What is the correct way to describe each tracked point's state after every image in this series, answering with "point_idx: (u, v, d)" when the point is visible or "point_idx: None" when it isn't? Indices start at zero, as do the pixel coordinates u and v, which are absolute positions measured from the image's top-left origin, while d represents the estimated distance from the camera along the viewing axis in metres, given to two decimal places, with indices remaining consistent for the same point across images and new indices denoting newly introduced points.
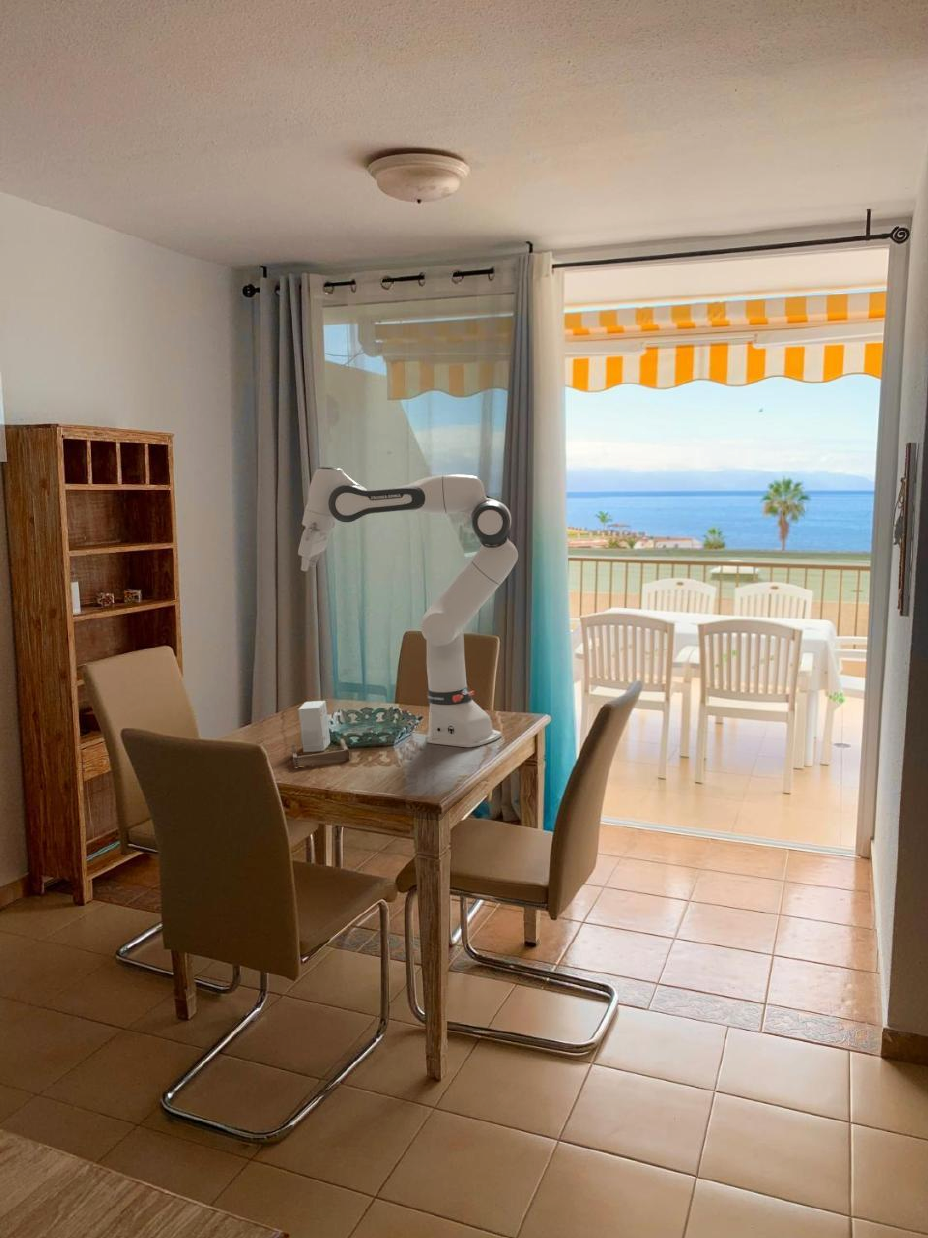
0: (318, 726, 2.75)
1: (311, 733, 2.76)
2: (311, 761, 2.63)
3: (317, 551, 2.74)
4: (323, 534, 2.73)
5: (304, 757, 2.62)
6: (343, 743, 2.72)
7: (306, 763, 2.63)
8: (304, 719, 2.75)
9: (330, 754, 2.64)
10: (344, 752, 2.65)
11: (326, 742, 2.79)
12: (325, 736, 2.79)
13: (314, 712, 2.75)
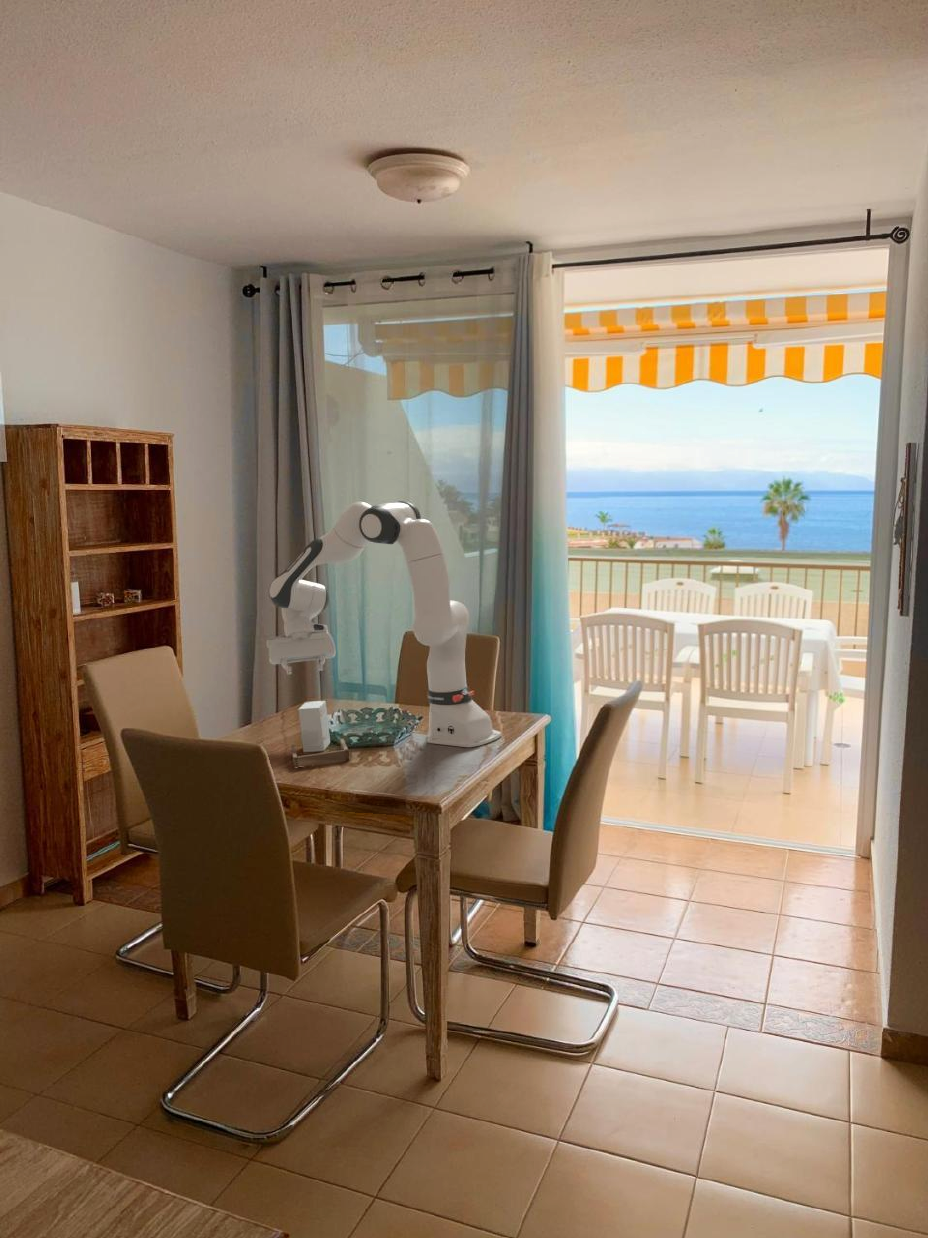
0: (318, 726, 2.75)
1: (311, 733, 2.76)
2: (311, 761, 2.63)
3: (299, 652, 2.91)
4: (294, 637, 2.94)
5: (304, 757, 2.62)
6: (343, 743, 2.72)
7: (306, 763, 2.63)
8: (304, 719, 2.75)
9: (330, 754, 2.64)
10: (344, 752, 2.65)
11: (326, 742, 2.79)
12: (325, 736, 2.79)
13: (314, 712, 2.75)
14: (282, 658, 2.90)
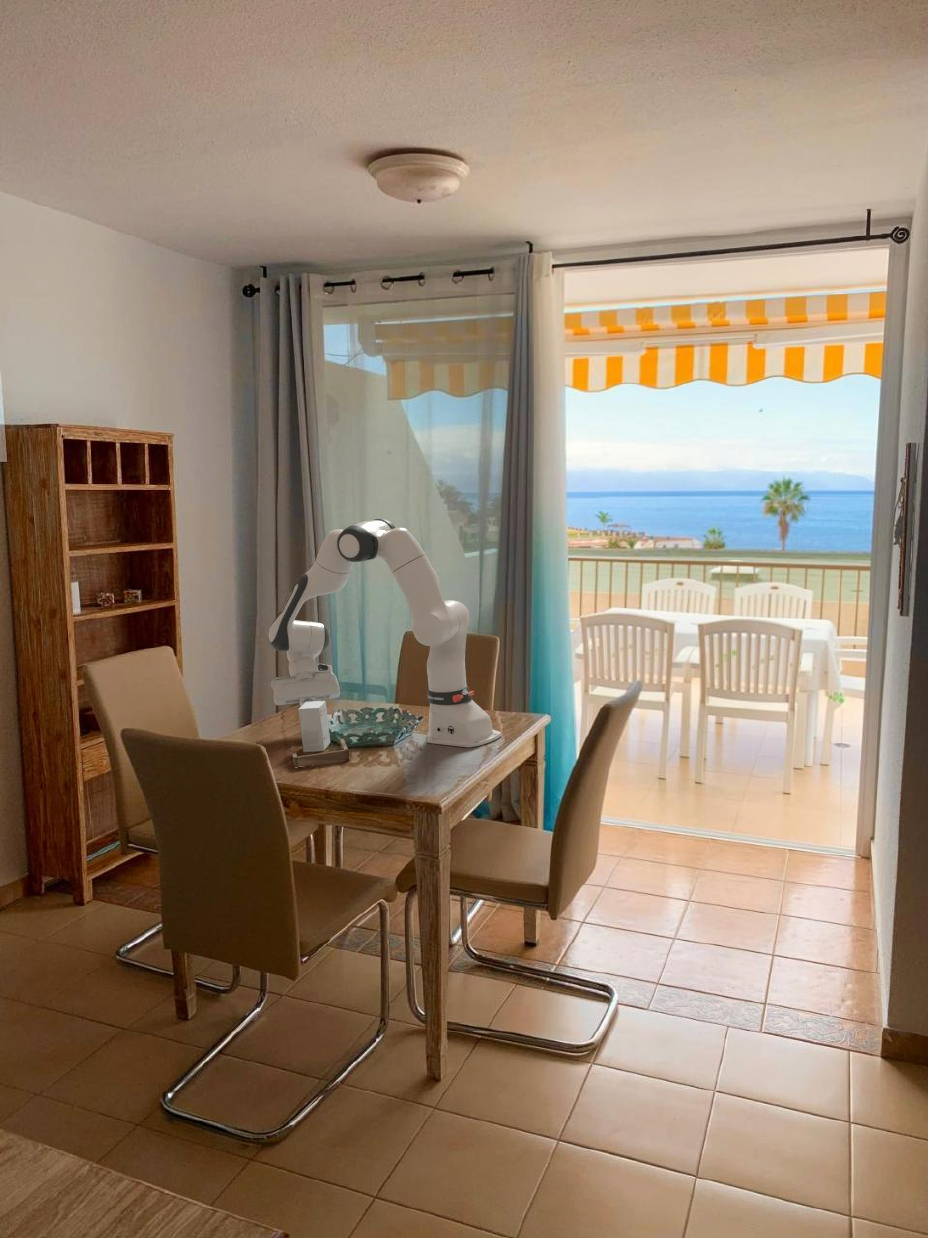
0: (318, 726, 2.75)
1: (311, 733, 2.76)
2: (311, 761, 2.63)
3: (303, 693, 2.94)
4: (299, 678, 2.96)
5: (304, 757, 2.62)
6: (343, 743, 2.72)
7: (306, 763, 2.63)
8: (304, 719, 2.75)
9: (330, 754, 2.64)
10: (344, 752, 2.65)
11: (326, 742, 2.79)
12: (325, 736, 2.79)
13: (314, 712, 2.75)
14: (287, 699, 2.93)
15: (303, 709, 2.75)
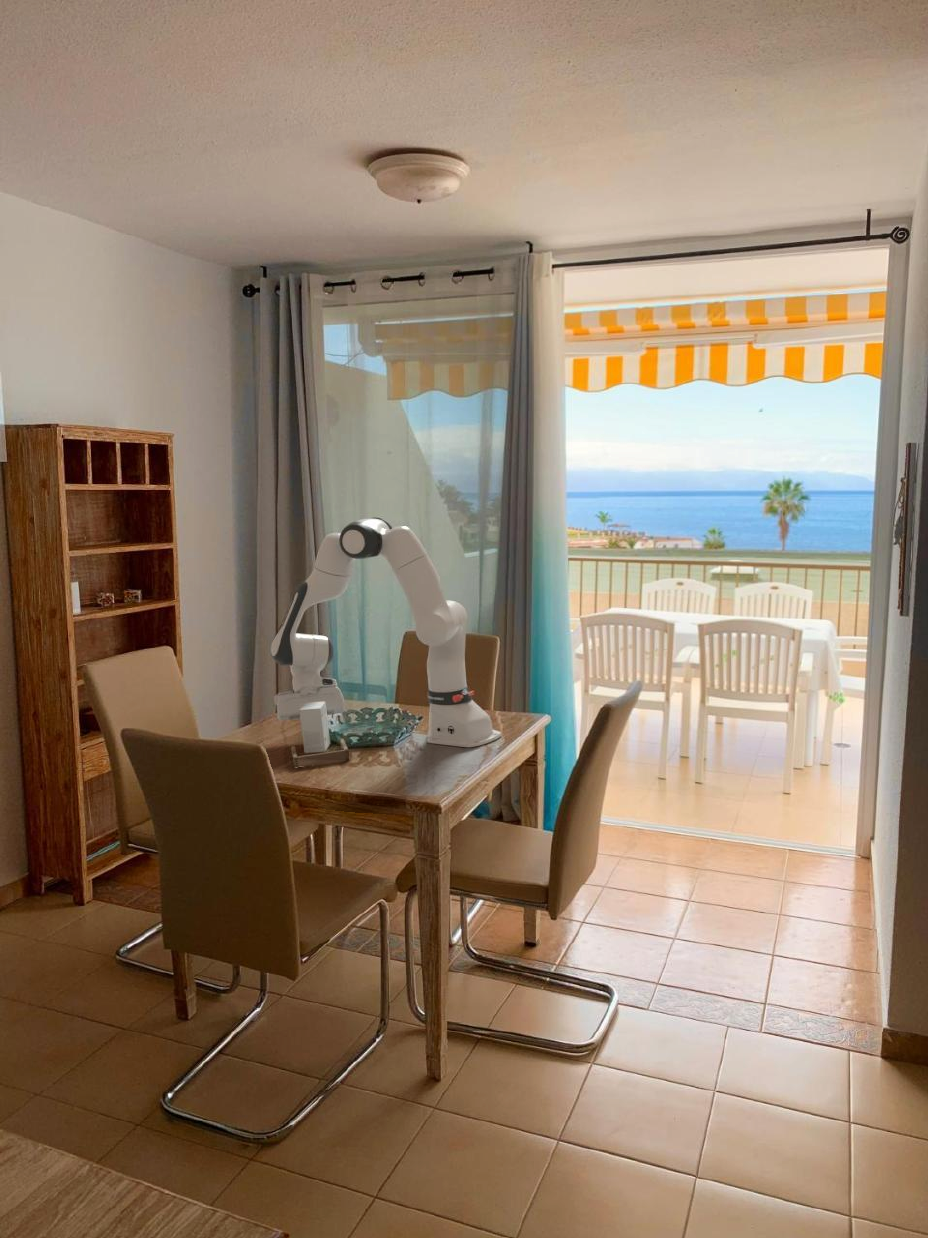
0: (319, 727, 2.74)
1: (313, 734, 2.75)
2: (311, 761, 2.63)
3: None
4: (303, 693, 2.88)
5: (304, 757, 2.62)
6: (343, 743, 2.72)
7: (306, 763, 2.63)
8: (305, 720, 2.74)
9: (330, 754, 2.64)
10: (344, 752, 2.65)
11: (327, 743, 2.78)
12: (326, 737, 2.78)
13: (315, 713, 2.74)
14: (290, 715, 2.84)
15: (304, 710, 2.74)
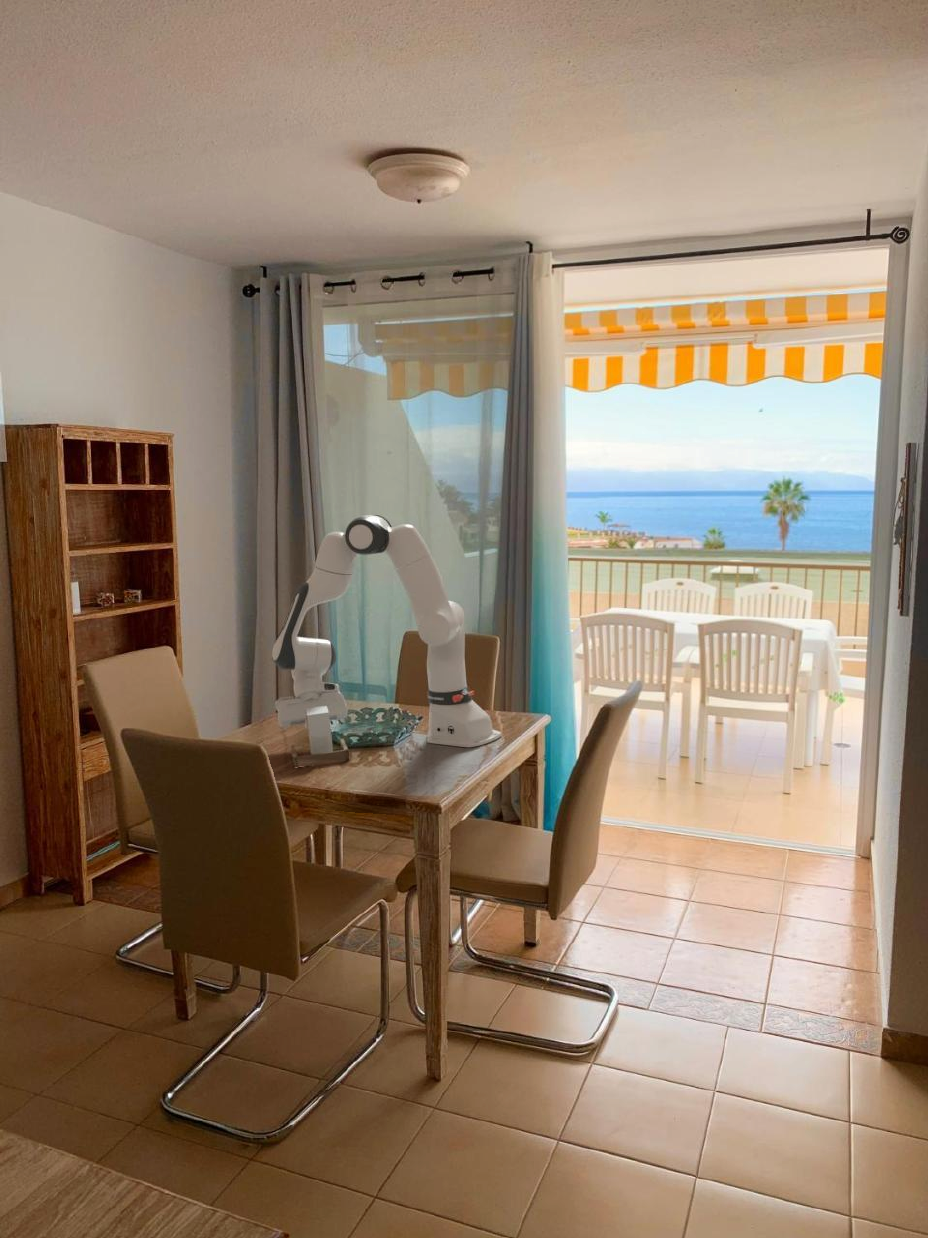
0: (328, 732, 2.69)
1: (321, 739, 2.69)
2: (311, 761, 2.63)
3: None
4: (304, 698, 2.81)
5: (304, 757, 2.62)
6: (343, 743, 2.72)
7: (306, 763, 2.63)
8: (313, 726, 2.68)
9: (330, 754, 2.64)
10: (344, 752, 2.65)
11: None
12: None
13: (323, 718, 2.68)
14: (292, 721, 2.77)
15: (312, 715, 2.67)
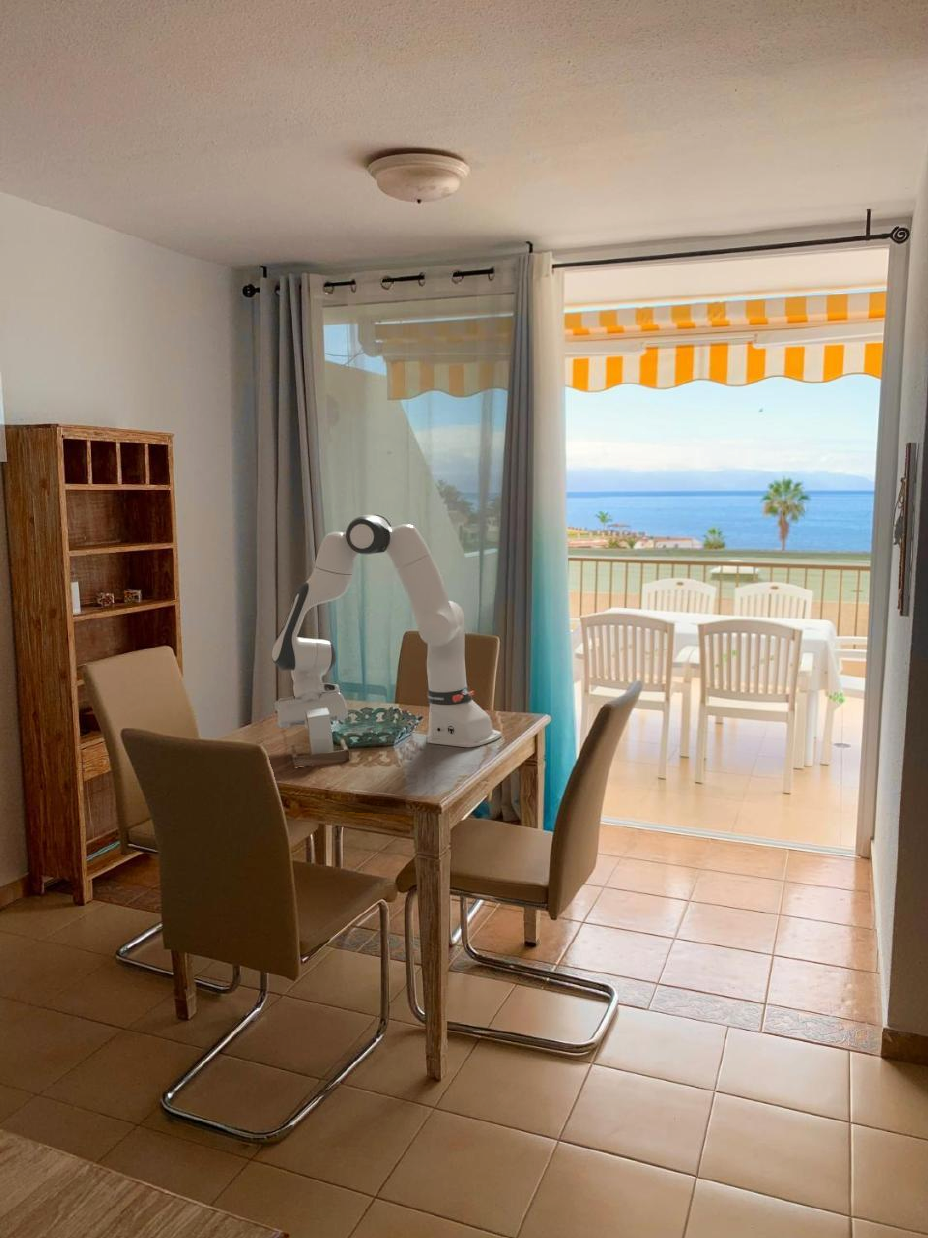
0: (329, 734, 2.67)
1: (322, 741, 2.67)
2: (311, 761, 2.63)
3: None
4: (304, 699, 2.79)
5: (304, 757, 2.62)
6: (343, 743, 2.72)
7: (306, 763, 2.63)
8: (314, 728, 2.66)
9: (330, 754, 2.64)
10: (344, 752, 2.65)
11: None
12: None
13: (324, 719, 2.66)
14: (292, 721, 2.76)
15: (312, 717, 2.65)
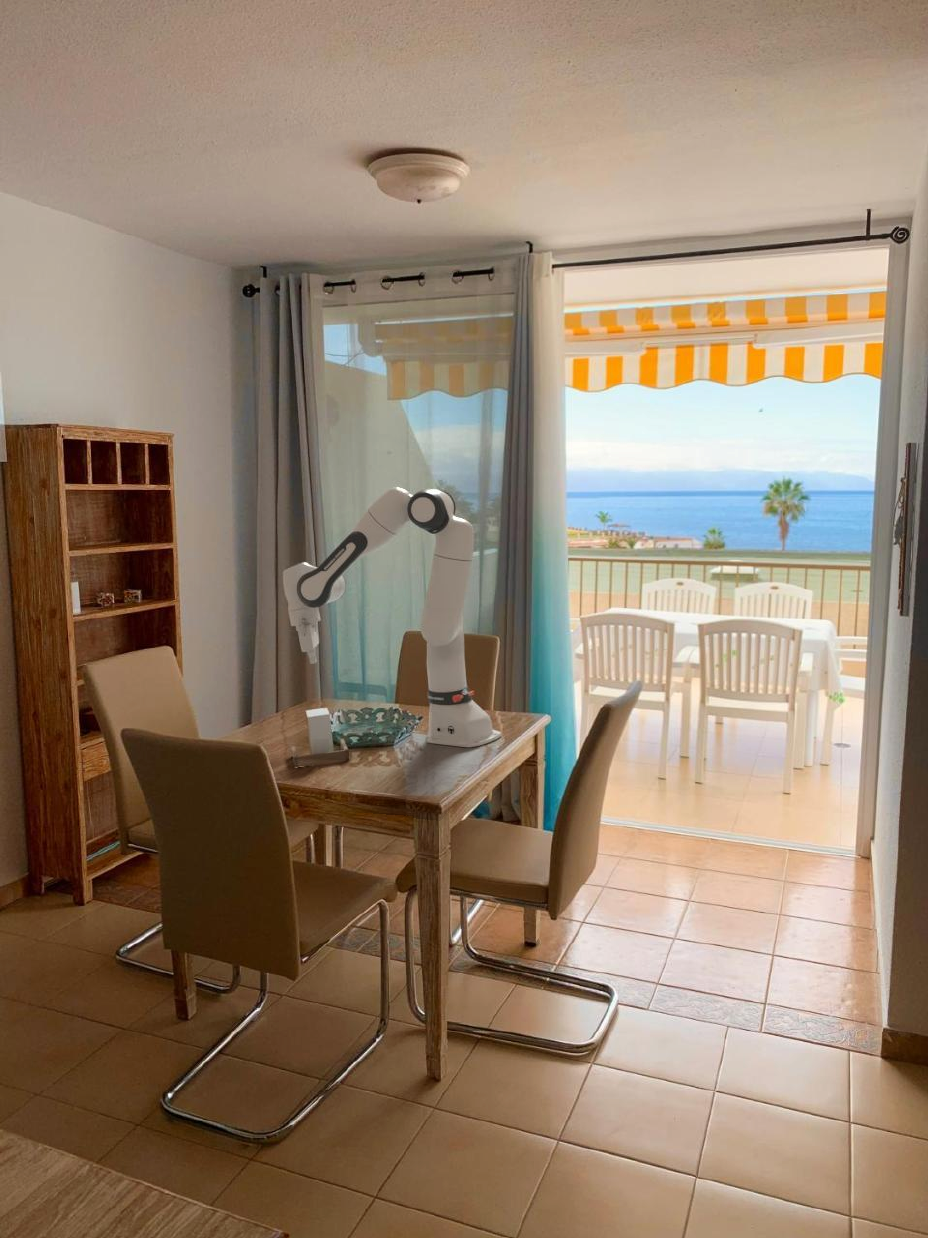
0: (329, 734, 2.67)
1: (322, 741, 2.67)
2: (311, 761, 2.63)
3: (315, 643, 2.85)
4: (314, 626, 2.84)
5: (304, 757, 2.62)
6: (343, 743, 2.72)
7: (306, 763, 2.63)
8: (314, 728, 2.66)
9: (330, 754, 2.64)
10: (344, 752, 2.65)
11: None
12: None
13: (324, 719, 2.66)
14: None
15: (312, 717, 2.65)
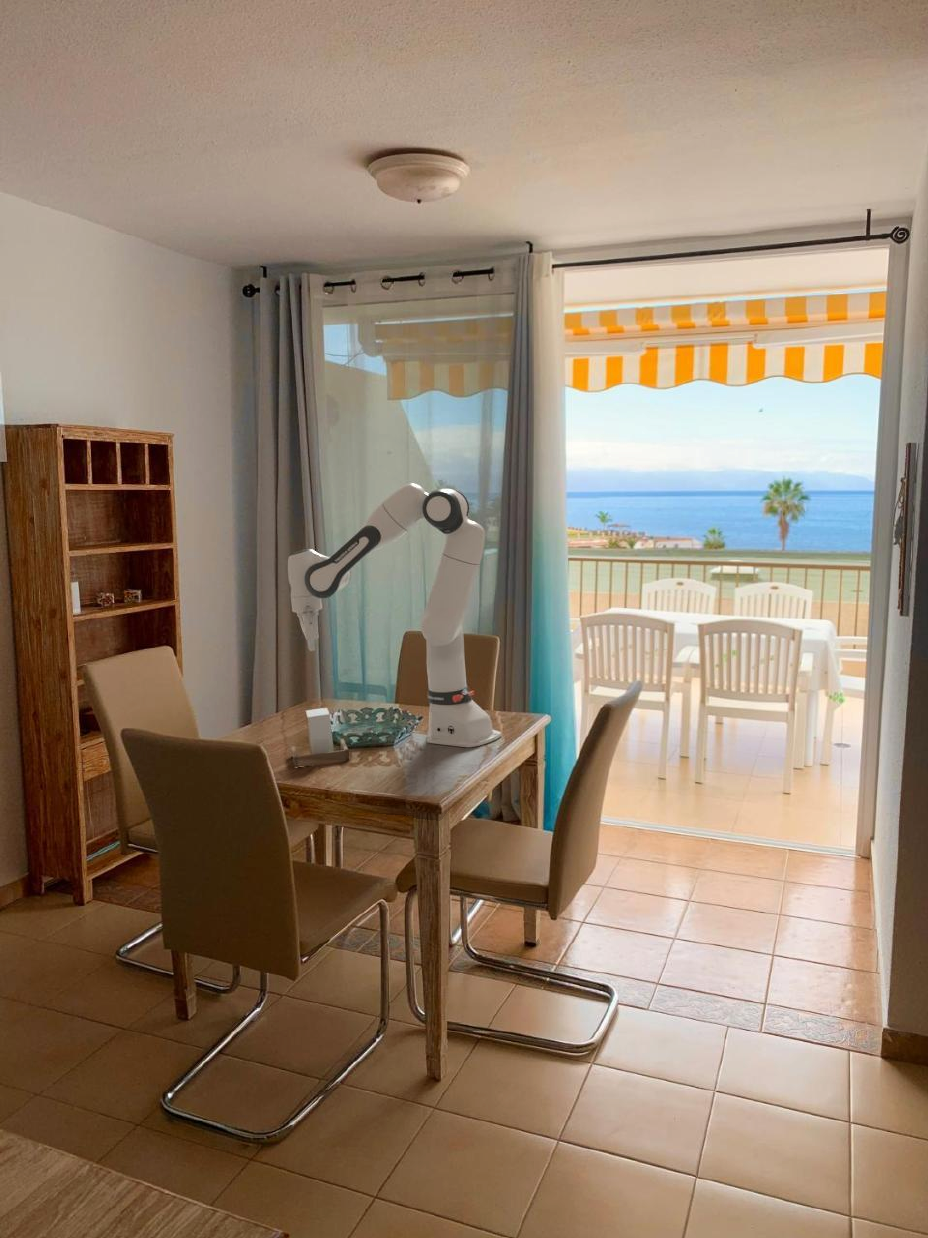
0: (329, 734, 2.67)
1: (322, 741, 2.67)
2: (311, 761, 2.63)
3: None
4: (317, 613, 2.83)
5: (304, 757, 2.62)
6: (343, 743, 2.72)
7: (306, 763, 2.63)
8: (314, 728, 2.66)
9: (330, 754, 2.64)
10: (344, 752, 2.65)
11: None
12: None
13: (324, 719, 2.66)
14: None
15: (312, 717, 2.65)
